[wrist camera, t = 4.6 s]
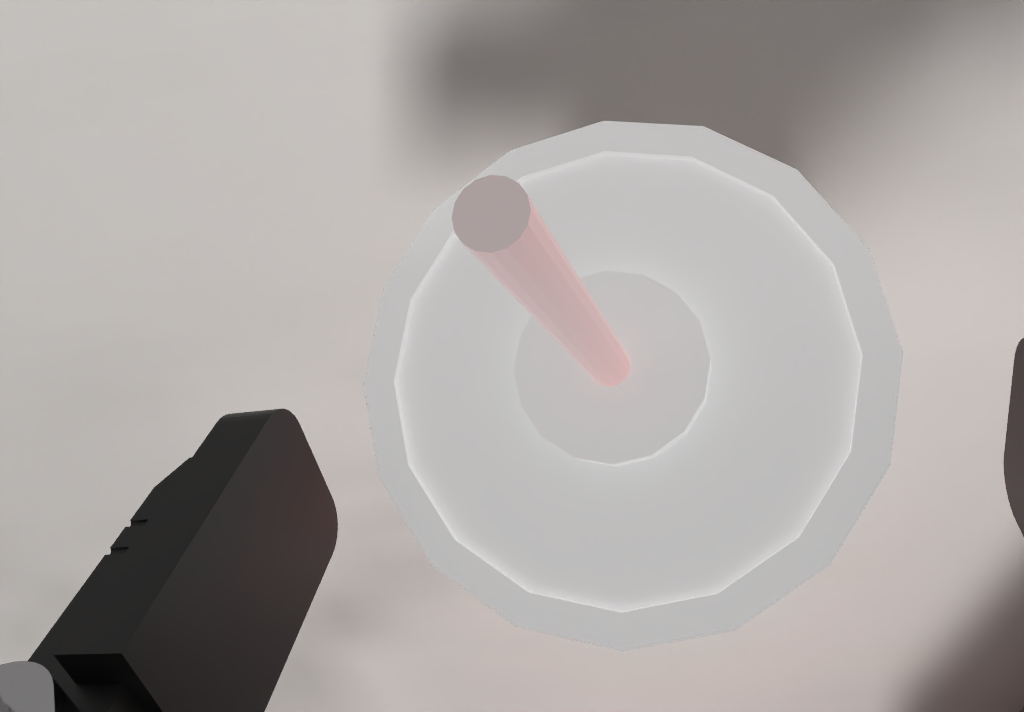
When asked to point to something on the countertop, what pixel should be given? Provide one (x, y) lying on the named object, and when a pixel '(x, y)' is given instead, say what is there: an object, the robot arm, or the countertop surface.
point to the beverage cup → (633, 384)
